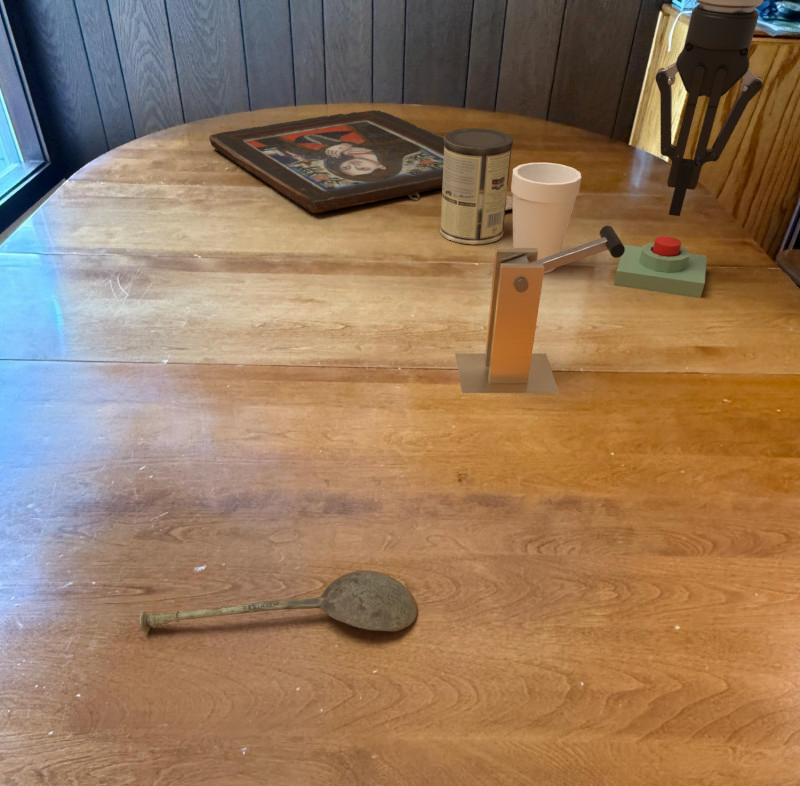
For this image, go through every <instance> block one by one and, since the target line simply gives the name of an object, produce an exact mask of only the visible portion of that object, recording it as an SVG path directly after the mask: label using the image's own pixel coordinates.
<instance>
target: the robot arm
mask: <svg viewBox="0 0 800 786" xmlns="http://www.w3.org/2000/svg"><path fill="white" fill-rule="evenodd" d="M695 1H696V2H697V3H698V4H697V6H694V8H693V9H692V10H691V15H690V19H689V24H688V28H687V32H686V37H685V41H684V45H683V48H682V50H681V52H680V53H679V54H678V56H677V58H676V61H675V62H673V63H672V64H670V65H668V66H666V67H660V68H658V70H657V71H656V74H655V78H654V79H655V82H656V85H657V88H658V91H659V94H660V96H659V97H660V102H659V103H660V104H659V105H660V107H659V108H660V110H659V112H660V121H659V122H660V127H659V128H660V155H661V156H663V157H667V158H668V159H670V161H671V166H670V170H669V174H668V177H667V182H666V183H667V187H668V188H674V190H673V194H672V197H671V202H670V206H669V211H668V216H674V217H681V213H682V208H683V206H684V202H685V198H686V193H687V190H693V191H694V190H696V188H697V186H698V182H699V178H700V175H701V171H702V168H703V166H704V165H705V164H706V163H710V162H717V161H718V160H719V159H720V157H721V156H722V154H723V152H724V149H725V147H726V146H727V144H728V143H729V140H730V138H731V136H732V134H733V132H734V131H735V129H736V127H737V125H738V123H739V121H740V119H741V117H742V116H743V113H744V112H745V110H746V108H747V106H748V104H749V103H750V101H752V99H753V98H754V97H755V96H756V95H758V93H759V92H760V91H761V90H762V89H763V79H762V77H760V76H757V75H756V74H755V73H754V72H753V71H752V70H751V69H750V59H749V53H750V48H751V45H752V42H753V38H754V34H755V32H756V31H755V30H756V27H757V23H758V20H759V16H760V14H759V13H758V12H759V11H758V10H756V8H757V7H759V6H761V5H762V4H763V2H764V0H695ZM677 73H678V74H679V77H680V80H681V82H682V85H683V87H684V89H685V91H686V92H687V94H688V95H687V99H686V103H685V109H684V111H683V116H682V120H681V124H680V129H679V132H678V135H677V136H678V137H677V141H676V145H674V144H673V143H672V128H673V127H672V122H673V121H672V119H673V117H672V116H673V115H672V113H673V111H672V109H673V105H672V104H673V89H672V88H673V87H672V86H673V85H674V84H675V82H676V75H677ZM741 78H742V81H741V83H740V85H739V91H740V93H739V95H738V96H737V97H736V100H735V102H734V104H733V105H732V107H731V109H730V111H729V113H728V115H727V117H726V119H725V121H724V123H723V125H722V127H721V129H720V131H719V133H718V135H717V137H716V138H715V140H714V142H713V144H712V146H711V148H708V146H709V142H710V137H711V135H712V130H713V126H714V123H715V120H716V115H717V111H718V109H719V106H720V105H719V104H720V101H721V97H723V96H725V95H726V94H727V93H728V92H729V90H731V89H732V88H733V87H734V86H735V85H736V84H737V83H738V82H739V81H740V80H741ZM699 97H707V98H708V101H707V106H706V109H705V113H704V116H703V120H702V123H701V124H702V125H701V129H700V132H699V136H698V140H697V144H696V148H695V152H694V156H693V158H692V159H691V158H684V156H685V152H686V148H687V145H688V140H689V136H690V132H691V129H692V123H693V121H694V117H695V112H696V108H697V104H698V99H699Z"/></svg>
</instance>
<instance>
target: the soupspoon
mask: <svg viewBox="0 0 800 786" xmlns="http://www.w3.org/2000/svg"><path fill="white" fill-rule="evenodd" d="M305 609H306V610H307V609H320V610H322V612H324V613H325V614H326V615H327V616H329V617H330V618H332V619H334V620H336V621H338V622H340V623H343V624H346V625H349V626H351V627H354V628H358V629H362V630H363V629H364V630H366V631H377V632H399V631H401V630H404V629H407V628H408V627H410V626H411V625H412V624H413V623H414V622H415V620H416V618H417V615H418V613H419V611H418V610H419V609H418V604H417V601H416V599H415V597H414V596H413V594H412V592H411V591H410V590H409V589H408V588H407V586H405V585H404V584H403V583H402V582H401V581H400V580H398V579H396V578H395V577H393V576H391V575H388V574H387V573H383V572H379V571H375V570H356V571H351V572H348V573H344V574H343V575H341V576H339V577H337V578H336V579H334V580H333V581H332V582H331V583H329V585H327V586H326V588H325V589H324V591H323V592H322V593H321V595H320V596H319V597H318V596H316V597H305V598H304V597H303V598H290V599H279V600H270V601H262V602H261V601H258V602H253V603H244V604H237V605H229V606H222V607H221V606H220V607H215V608H213V607H212V608H207V609H197V610H190V611H183V612H180V611H179V610H175V611H174V612H173V613H169V612H163V613H158V614H157V613H153V612H152V613H150V614H149V615H148V613H147V612H146V611H145V610H142V611H141V612H140V614H139V620H138V621H139V627H140V630H141V632H142V633H145V634H148V633H149V632H150V630H151V628H152V629H155V628H157V627H158V625H159V626H161V625H166V624H170V623H171V622H173V621H174V622H176V623H180V622H181V621H184V620H194V619H202V618H212V617H214V618H215V617H223V616H232V615H233V616H234V615H242V614H251V613H259V612H268V611H282V610H283V611H285V610H305Z"/></svg>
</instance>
